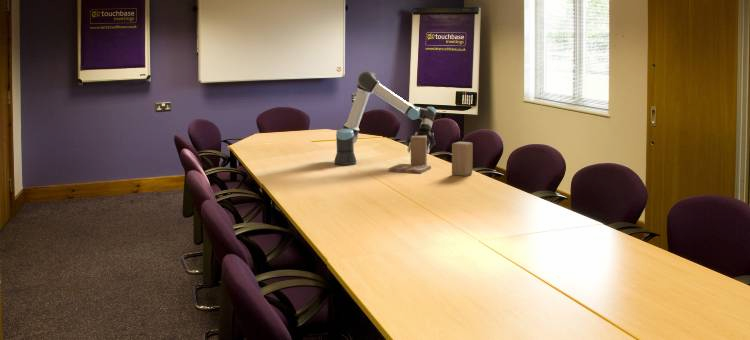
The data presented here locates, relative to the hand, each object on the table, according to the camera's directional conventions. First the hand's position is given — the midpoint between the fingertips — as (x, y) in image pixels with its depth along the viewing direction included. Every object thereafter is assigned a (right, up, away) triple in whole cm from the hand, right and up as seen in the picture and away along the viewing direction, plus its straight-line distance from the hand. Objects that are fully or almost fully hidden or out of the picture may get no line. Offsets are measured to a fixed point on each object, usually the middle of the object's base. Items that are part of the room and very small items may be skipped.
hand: (417, 152), depth 466 cm
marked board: (-6, -12, -11) cm, 17 cm away
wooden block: (+1, -9, +3) cm, 10 cm away
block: (+26, -15, -28) cm, 41 cm away
